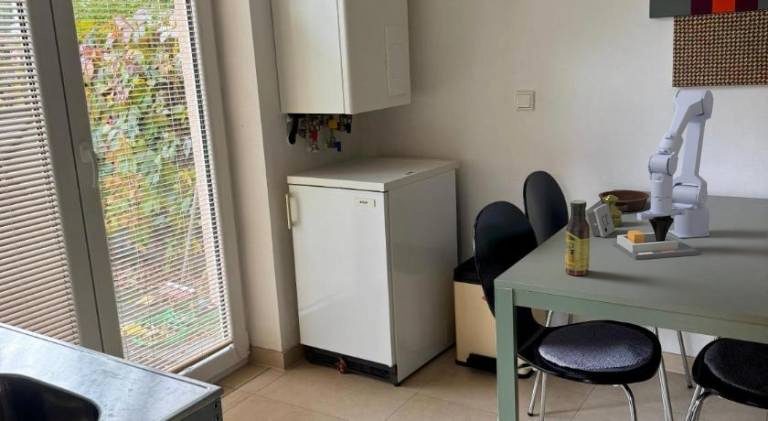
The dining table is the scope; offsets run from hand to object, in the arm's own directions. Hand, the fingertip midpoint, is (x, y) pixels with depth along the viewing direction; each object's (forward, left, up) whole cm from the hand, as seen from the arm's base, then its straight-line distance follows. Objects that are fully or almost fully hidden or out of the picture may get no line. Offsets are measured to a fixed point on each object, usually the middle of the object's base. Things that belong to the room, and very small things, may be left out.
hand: (660, 241), depth 208 cm
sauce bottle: (+30, +15, -2) cm, 34 cm away
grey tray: (+2, 0, -2) cm, 3 cm away
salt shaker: (+3, -30, -2) cm, 30 cm away
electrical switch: (+10, -20, -2) cm, 22 cm away
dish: (-11, -52, -3) cm, 53 cm away
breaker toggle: (+7, 0, -1) cm, 7 cm away
